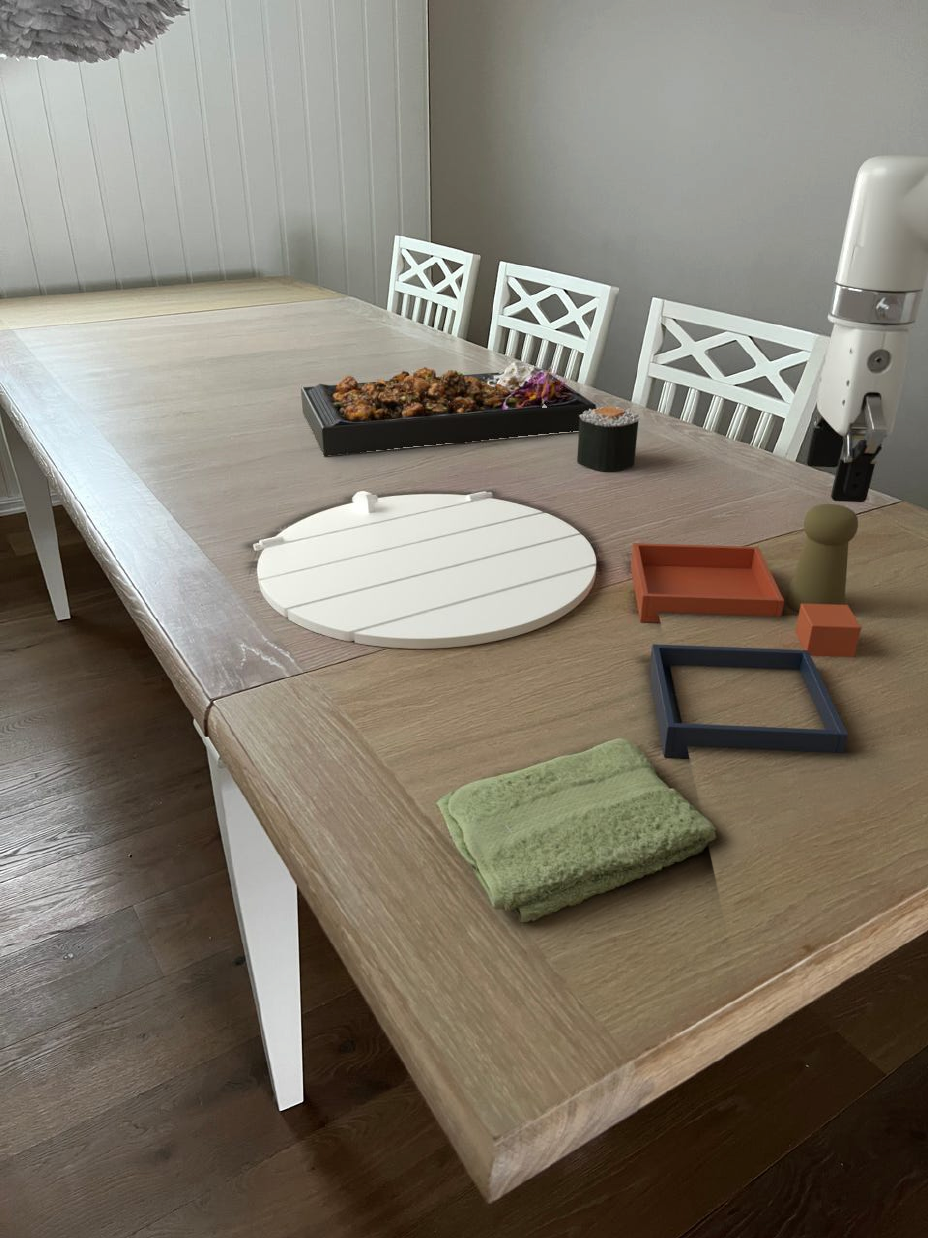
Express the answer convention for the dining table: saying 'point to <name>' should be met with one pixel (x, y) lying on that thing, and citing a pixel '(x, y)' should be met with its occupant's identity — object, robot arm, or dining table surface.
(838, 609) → the terracotta block
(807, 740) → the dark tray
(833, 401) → the robot arm
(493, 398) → the food platter
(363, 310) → the dining table surface
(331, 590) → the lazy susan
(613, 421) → the sushi
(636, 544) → the terracotta tray
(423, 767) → the dining table surface
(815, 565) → the olive pawn
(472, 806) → the washcloth
